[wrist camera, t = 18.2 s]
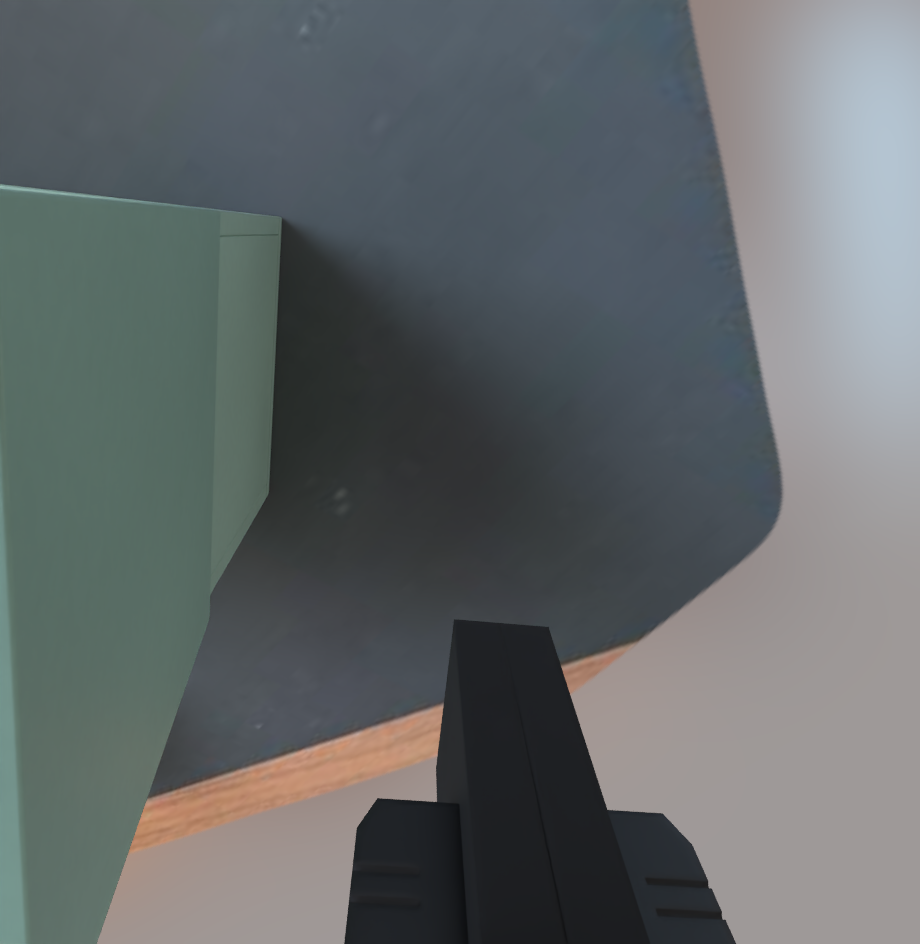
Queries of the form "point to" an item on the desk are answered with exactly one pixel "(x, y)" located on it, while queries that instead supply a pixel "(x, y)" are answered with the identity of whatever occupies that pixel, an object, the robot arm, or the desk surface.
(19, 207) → the lid
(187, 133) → the desk surface
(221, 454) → the box
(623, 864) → the robot arm
